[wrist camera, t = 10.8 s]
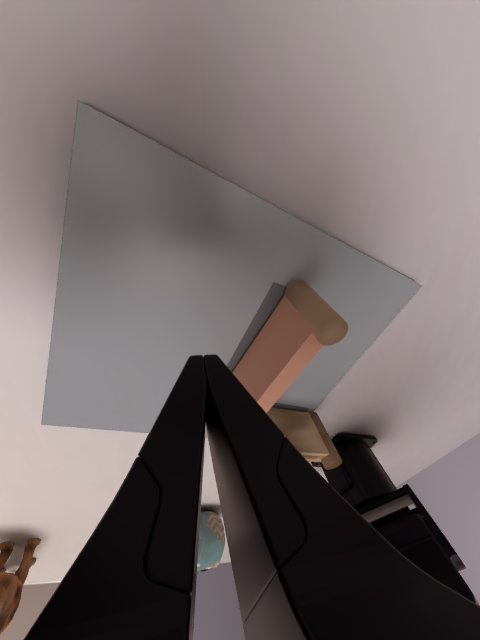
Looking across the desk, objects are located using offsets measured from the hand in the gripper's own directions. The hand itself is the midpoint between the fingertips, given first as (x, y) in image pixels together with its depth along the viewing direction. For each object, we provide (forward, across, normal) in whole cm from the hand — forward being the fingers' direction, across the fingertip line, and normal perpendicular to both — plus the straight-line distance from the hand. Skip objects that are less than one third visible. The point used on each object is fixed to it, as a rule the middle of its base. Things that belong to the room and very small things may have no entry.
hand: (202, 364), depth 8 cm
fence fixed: (+7, -8, +13) cm, 17 cm away
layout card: (+8, -3, +6) cm, 10 cm away
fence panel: (+7, -4, +6) cm, 10 cm away
